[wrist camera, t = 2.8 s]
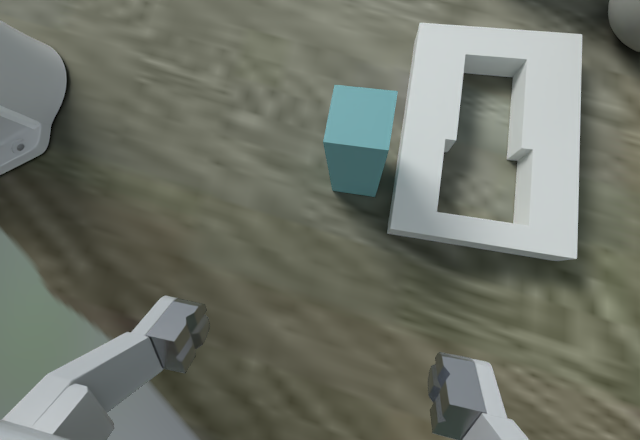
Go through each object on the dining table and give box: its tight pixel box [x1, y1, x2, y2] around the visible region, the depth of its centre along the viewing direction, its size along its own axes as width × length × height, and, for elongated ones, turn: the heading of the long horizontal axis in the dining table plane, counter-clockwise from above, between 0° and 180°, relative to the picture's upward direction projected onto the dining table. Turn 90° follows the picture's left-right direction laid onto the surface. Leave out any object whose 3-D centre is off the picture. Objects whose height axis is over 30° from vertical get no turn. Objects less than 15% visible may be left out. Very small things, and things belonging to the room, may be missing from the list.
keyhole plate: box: [387, 23, 582, 261], centre depth 27 cm, size 20×14×2 cm
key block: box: [323, 85, 398, 197], centre depth 24 cm, size 4×4×10 cm
